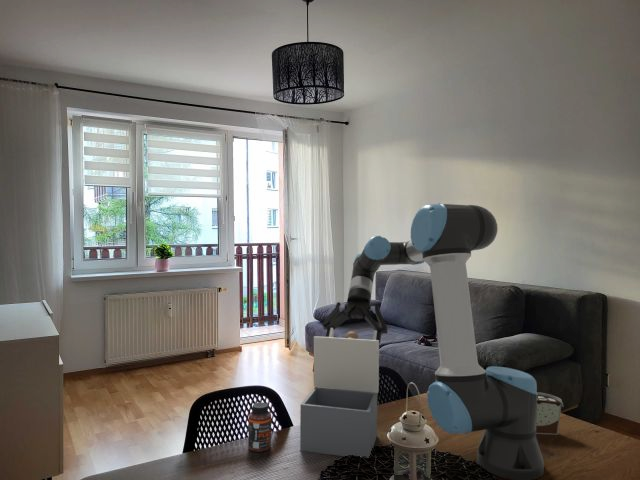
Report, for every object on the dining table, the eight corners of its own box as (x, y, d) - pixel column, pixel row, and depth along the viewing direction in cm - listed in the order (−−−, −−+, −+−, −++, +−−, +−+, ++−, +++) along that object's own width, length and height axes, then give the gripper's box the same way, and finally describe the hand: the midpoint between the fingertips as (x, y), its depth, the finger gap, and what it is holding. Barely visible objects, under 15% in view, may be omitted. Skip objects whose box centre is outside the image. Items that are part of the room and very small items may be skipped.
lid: (378, 392, 129) (383, 379, 140) (378, 341, 128) (383, 331, 139) (313, 386, 134) (323, 374, 145) (313, 336, 133) (323, 327, 144)
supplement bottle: (259, 455, 118) (259, 411, 118) (243, 448, 121) (243, 405, 121) (275, 446, 123) (276, 404, 122) (259, 440, 126) (259, 399, 126)
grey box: (376, 435, 129) (377, 393, 129) (369, 459, 116) (369, 411, 116) (314, 428, 134) (314, 387, 134) (300, 450, 120) (300, 404, 120)
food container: (554, 425, 137) (554, 392, 137) (563, 435, 131) (563, 399, 131) (511, 423, 138) (511, 390, 138) (517, 432, 132) (518, 397, 132)
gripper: (398, 302, 153) (393, 359, 138) (325, 298, 159) (313, 353, 145) (397, 287, 147) (392, 346, 133) (321, 284, 154) (308, 340, 139)
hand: (351, 350), depth 139 cm, fingers open, 13 cm apart
